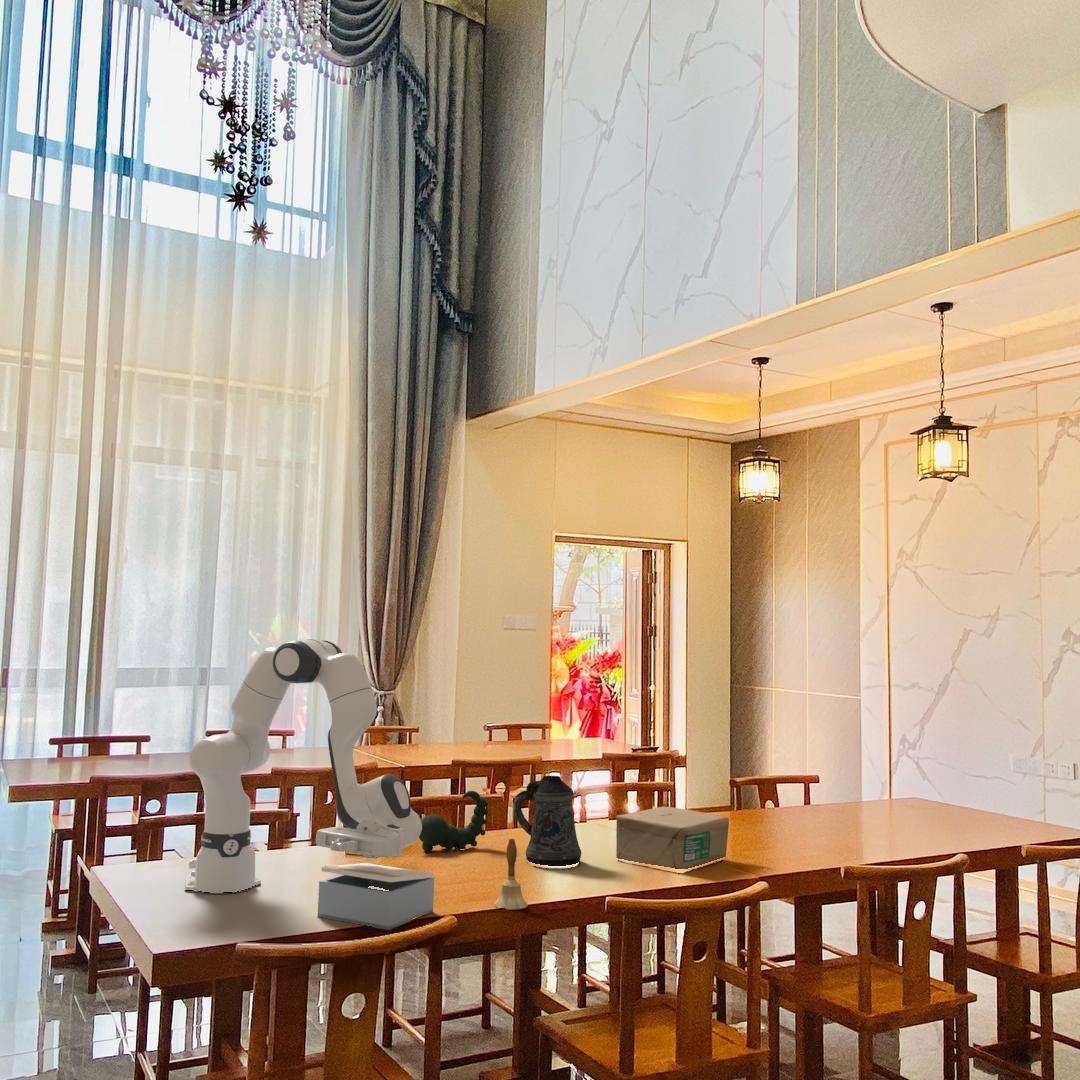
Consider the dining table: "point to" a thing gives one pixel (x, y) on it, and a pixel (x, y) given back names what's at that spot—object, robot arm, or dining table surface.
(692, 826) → the paper package
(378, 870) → the lid
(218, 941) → the dining table surface
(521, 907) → the hand bell
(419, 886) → the box
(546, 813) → the beer stein
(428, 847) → the toy figurine
